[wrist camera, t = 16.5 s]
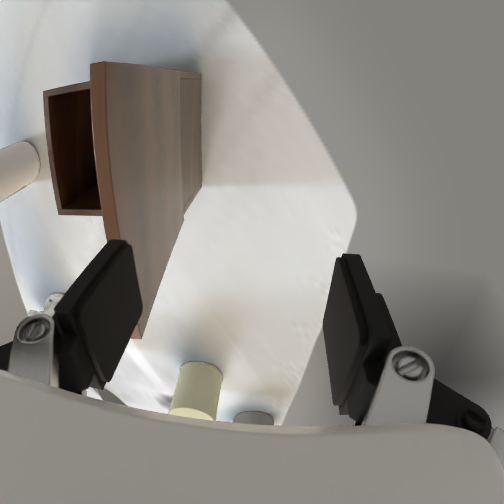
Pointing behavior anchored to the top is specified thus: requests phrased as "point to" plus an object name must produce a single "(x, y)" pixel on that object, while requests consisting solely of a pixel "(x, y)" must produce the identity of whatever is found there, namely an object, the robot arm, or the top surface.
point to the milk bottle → (17, 168)
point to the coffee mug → (254, 418)
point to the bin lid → (139, 165)
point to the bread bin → (82, 148)
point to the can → (197, 391)
